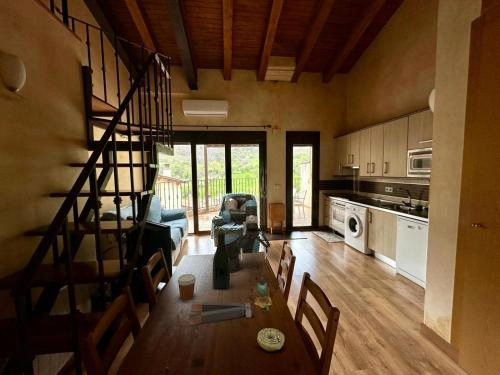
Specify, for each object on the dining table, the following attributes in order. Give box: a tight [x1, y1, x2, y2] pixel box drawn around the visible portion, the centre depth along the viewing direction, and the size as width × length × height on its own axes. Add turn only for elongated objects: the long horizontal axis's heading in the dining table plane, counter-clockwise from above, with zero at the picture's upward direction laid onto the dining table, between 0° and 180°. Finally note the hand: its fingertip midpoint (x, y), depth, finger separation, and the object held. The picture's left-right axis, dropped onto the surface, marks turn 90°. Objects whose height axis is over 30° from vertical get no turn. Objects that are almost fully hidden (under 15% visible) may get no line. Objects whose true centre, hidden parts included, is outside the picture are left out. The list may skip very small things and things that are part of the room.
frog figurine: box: [254, 277, 273, 311], centre depth 125 cm, size 10×18×15 cm, turn 1°
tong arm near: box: [188, 306, 246, 326], centre depth 110 cm, size 2×25×4 cm, turn 105°
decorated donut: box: [256, 327, 285, 352], centre depth 97 cm, size 10×11×4 cm
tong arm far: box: [191, 301, 245, 313], centre depth 116 cm, size 2×25×4 cm, turn 87°
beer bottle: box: [211, 230, 231, 291], centre depth 141 cm, size 10×10×33 cm
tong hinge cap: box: [244, 302, 252, 319], centre depth 115 cm, size 7×2×4 cm, turn 6°
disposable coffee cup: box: [176, 273, 197, 302], centre depth 128 cm, size 10×10×12 cm
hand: (253, 259), depth 139 cm, fingers open, 13 cm apart
